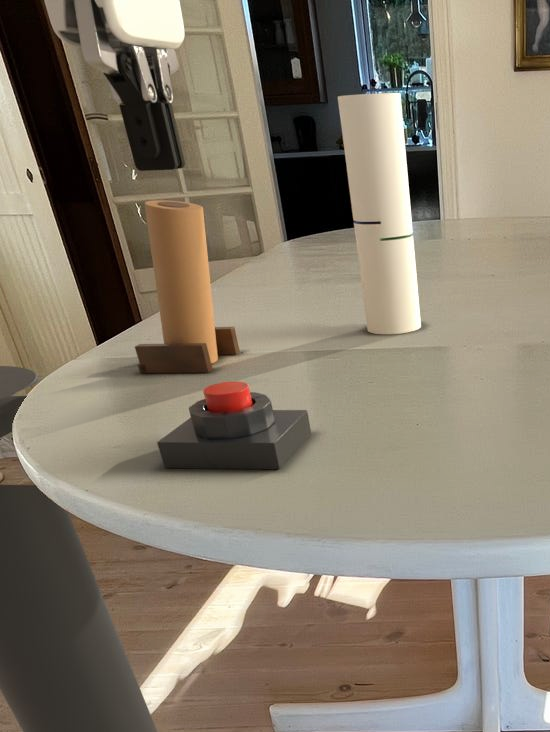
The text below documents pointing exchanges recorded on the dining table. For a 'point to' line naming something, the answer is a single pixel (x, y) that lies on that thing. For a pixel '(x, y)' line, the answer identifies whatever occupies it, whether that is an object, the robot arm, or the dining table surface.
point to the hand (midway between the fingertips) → (161, 168)
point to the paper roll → (182, 272)
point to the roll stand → (185, 354)
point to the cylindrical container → (381, 210)
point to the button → (227, 397)
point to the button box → (236, 437)
